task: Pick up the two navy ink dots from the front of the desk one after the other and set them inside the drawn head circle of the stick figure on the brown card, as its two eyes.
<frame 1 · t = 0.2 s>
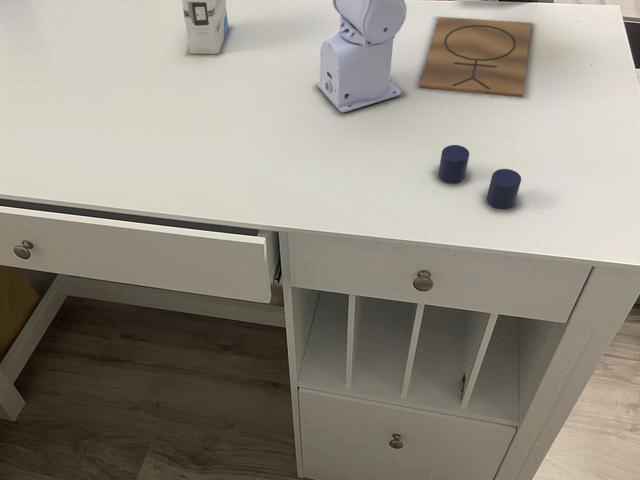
sheet: (477, 55, 99), on the table
dot a: (500, 200, 79), on the table
ink box: (209, 42, 110), on the table
dot b: (451, 175, 82), on the table
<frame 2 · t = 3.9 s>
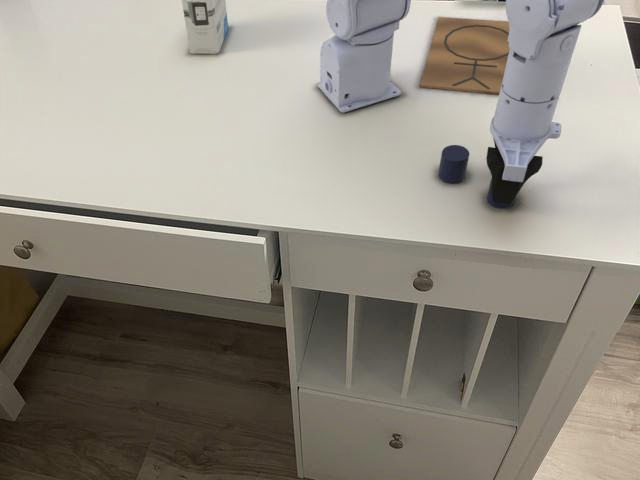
hand: (503, 190, 78), 1 cm above the table, tool pointing down, fingers closed on dot a, 3 cm apart
dot a: (500, 199, 79), on the table, touching gripper
everything else where it was.
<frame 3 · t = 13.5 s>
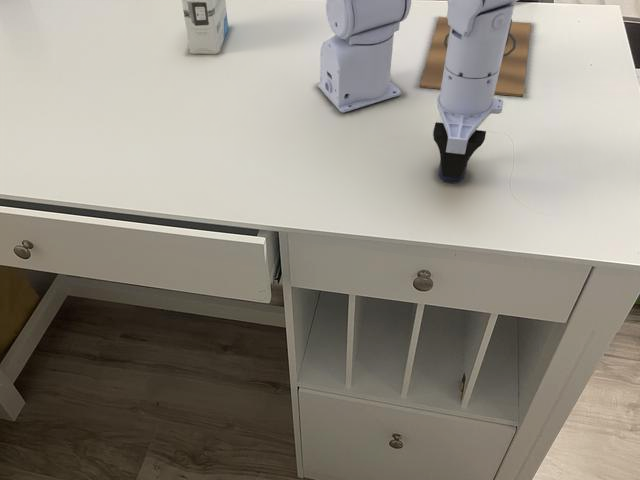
hand: (453, 166, 81), 1 cm above the table, tool pointing down, fingers closed on dot b, 3 cm apart
dot a: (496, 41, 101), resting on sheet
dot b: (451, 174, 82), on the table, touching gripper
everything else where it was.
when the fingers open (2 cm above the table, at t = 18.8 s): dot b stays where it is, resting on sheet.
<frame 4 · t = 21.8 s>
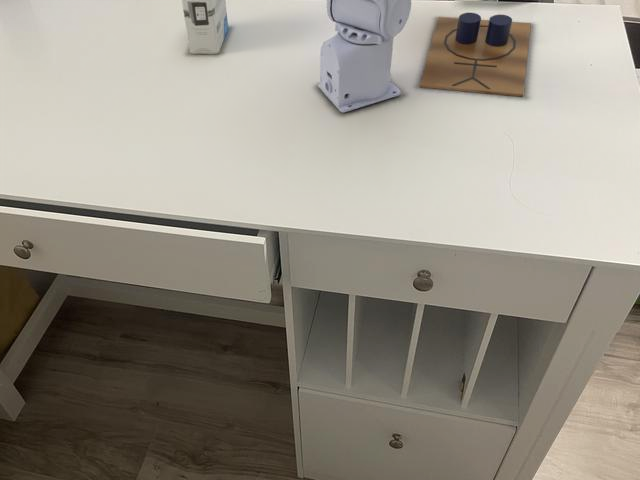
dot b: (466, 39, 102), resting on sheet
everything else where it was.
at the end: dot a 0.2 cm from the target spot on the sheet, point 0.4 cm above the sheet's base; dot b 0.2 cm from the target spot on the sheet, point 0.4 cm above the sheet's base; dot b tilted 0° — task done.
